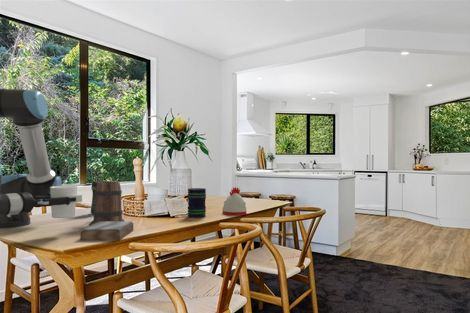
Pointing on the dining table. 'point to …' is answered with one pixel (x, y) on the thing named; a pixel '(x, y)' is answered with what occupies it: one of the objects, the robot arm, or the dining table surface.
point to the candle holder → (65, 209)
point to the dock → (106, 230)
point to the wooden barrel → (94, 193)
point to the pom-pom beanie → (234, 204)
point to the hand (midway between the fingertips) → (73, 197)
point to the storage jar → (196, 202)
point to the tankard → (107, 202)
